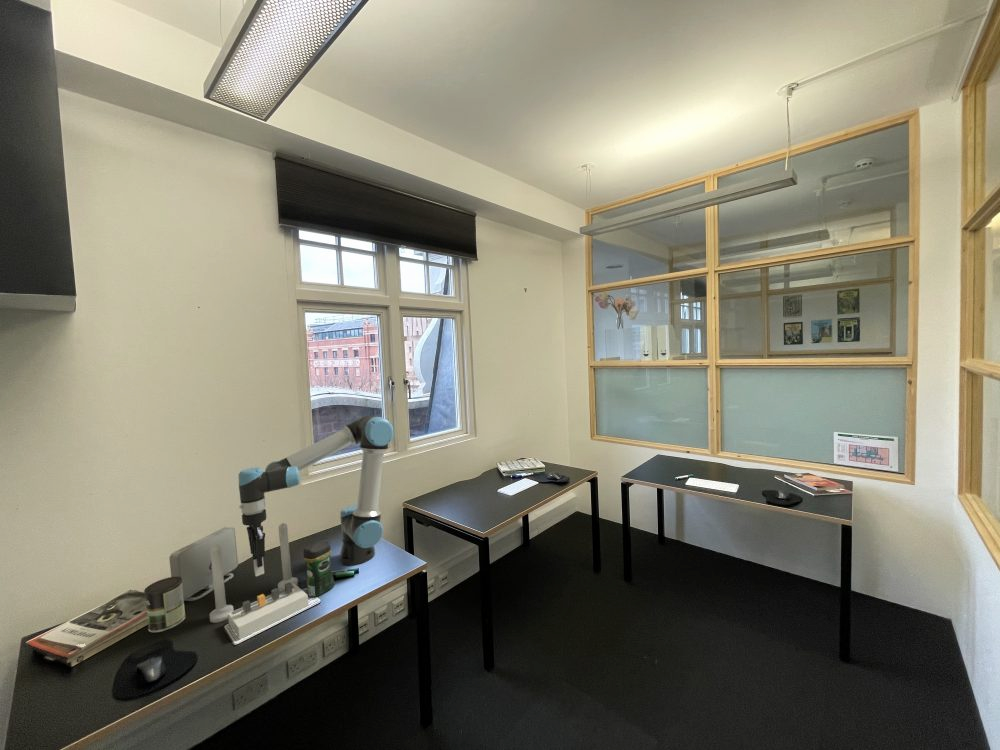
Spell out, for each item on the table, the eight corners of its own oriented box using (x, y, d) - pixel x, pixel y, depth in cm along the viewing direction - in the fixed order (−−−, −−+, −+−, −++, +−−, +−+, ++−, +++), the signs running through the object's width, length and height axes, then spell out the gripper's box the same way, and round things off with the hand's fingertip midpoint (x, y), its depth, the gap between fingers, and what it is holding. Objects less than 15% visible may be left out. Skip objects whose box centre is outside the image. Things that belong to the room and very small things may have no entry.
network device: (187, 606, 151) (181, 555, 150) (168, 605, 153) (163, 554, 152) (243, 570, 176) (238, 526, 175) (226, 569, 178) (222, 525, 177)
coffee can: (146, 637, 135) (142, 596, 134) (149, 622, 143) (145, 584, 142) (185, 623, 141) (181, 584, 140) (186, 610, 149) (182, 573, 148)
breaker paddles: (292, 590, 149) (292, 581, 149) (295, 592, 148) (294, 582, 148) (240, 613, 137) (239, 603, 137) (242, 616, 135) (241, 606, 135)
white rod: (299, 580, 165) (293, 518, 163) (296, 589, 158) (291, 524, 157) (279, 584, 162) (274, 522, 161) (276, 594, 156) (271, 528, 154)
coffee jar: (325, 581, 163) (322, 536, 162) (337, 586, 158) (334, 540, 157) (303, 594, 154) (298, 547, 154) (315, 599, 150) (310, 551, 149)
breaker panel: (295, 594, 155) (294, 583, 155) (308, 605, 147) (307, 594, 146) (229, 624, 138) (227, 612, 138) (239, 639, 130) (238, 626, 130)
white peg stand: (236, 608, 148) (229, 539, 147) (230, 619, 142) (223, 547, 140) (213, 613, 146) (206, 543, 145) (207, 625, 139) (199, 551, 138)
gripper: (236, 510, 148) (242, 573, 149) (247, 518, 139) (253, 584, 140) (259, 504, 153) (265, 564, 154) (271, 511, 144) (277, 575, 145)
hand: (259, 574), depth 147 cm, fingers closed
